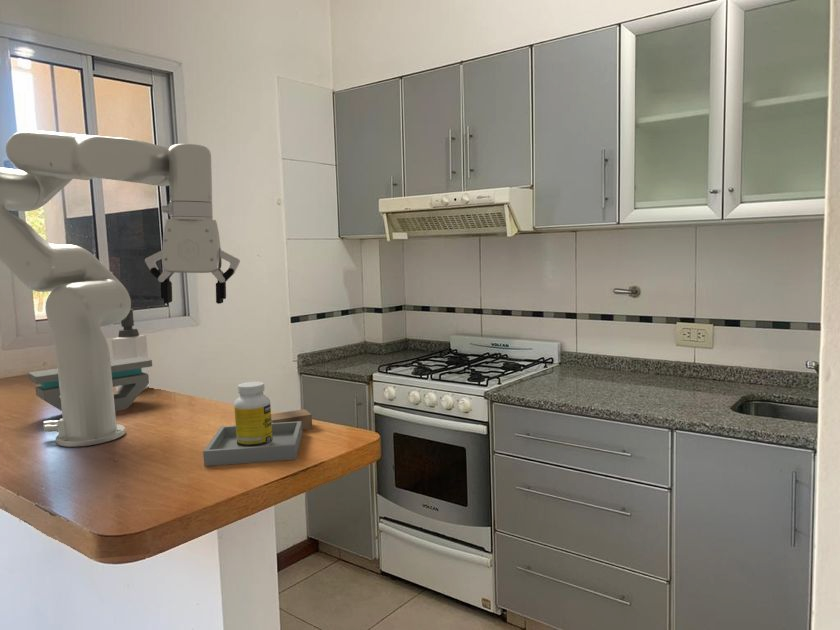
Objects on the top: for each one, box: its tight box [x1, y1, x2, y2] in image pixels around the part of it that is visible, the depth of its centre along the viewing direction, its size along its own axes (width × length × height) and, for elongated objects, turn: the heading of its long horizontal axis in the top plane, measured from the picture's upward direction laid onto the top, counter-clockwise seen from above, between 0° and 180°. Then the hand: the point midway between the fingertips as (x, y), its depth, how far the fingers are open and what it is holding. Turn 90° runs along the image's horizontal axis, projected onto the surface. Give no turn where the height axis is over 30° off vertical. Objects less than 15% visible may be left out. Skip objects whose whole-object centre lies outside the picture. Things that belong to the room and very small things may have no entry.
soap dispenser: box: [110, 308, 151, 392], centre depth 174 cm, size 6×9×22 cm
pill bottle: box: [233, 381, 273, 448], centre depth 119 cm, size 6×6×12 cm
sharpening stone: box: [27, 357, 153, 412], centre depth 153 cm, size 25×8×11 cm, turn 132°
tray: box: [202, 421, 303, 467], centre depth 120 cm, size 16×16×3 cm
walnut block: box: [271, 408, 313, 431], centre depth 132 cm, size 8×5×3 cm, turn 116°
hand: (194, 302), depth 123 cm, fingers open, 9 cm apart
